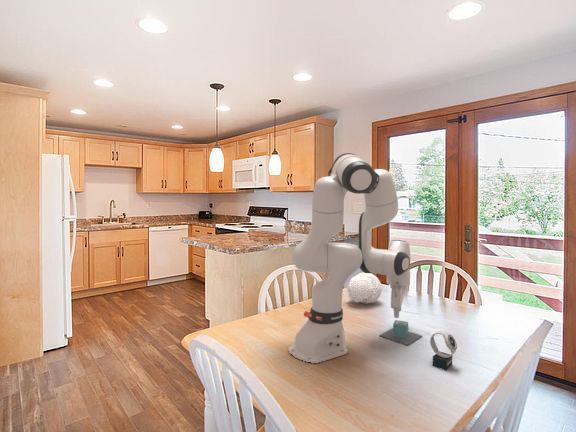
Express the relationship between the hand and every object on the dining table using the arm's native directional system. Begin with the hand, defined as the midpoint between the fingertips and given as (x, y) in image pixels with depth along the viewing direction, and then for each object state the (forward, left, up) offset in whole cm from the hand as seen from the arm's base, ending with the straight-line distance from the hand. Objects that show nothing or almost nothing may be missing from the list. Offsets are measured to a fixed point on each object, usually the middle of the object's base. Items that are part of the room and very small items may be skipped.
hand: (397, 314), depth 135 cm
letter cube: (0, -2, -8) cm, 8 cm away
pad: (0, -2, -9) cm, 9 cm away
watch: (-11, -23, -9) cm, 27 cm away
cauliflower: (+24, +31, -9) cm, 40 cm away
